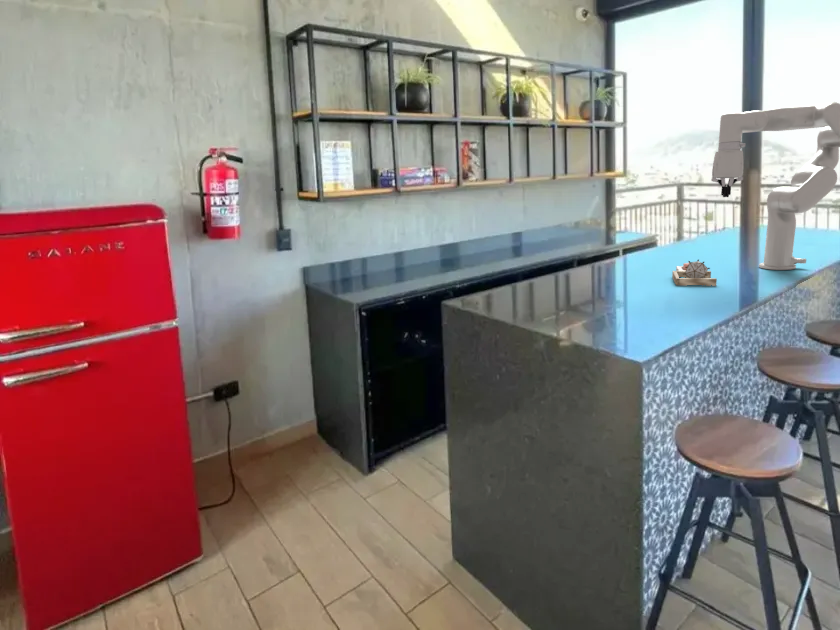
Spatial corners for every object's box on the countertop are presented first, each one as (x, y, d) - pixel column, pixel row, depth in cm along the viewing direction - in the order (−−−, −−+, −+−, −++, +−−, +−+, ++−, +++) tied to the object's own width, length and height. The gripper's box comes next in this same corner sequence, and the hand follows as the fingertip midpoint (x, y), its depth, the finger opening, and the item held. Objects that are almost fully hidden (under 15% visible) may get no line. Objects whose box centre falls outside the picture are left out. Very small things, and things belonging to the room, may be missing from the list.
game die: (700, 292, 214) (717, 273, 207) (679, 284, 214) (694, 265, 206) (697, 276, 220) (713, 257, 213) (676, 269, 220) (691, 250, 213)
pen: (710, 277, 220) (710, 271, 219) (716, 285, 206) (716, 279, 205) (672, 277, 224) (672, 270, 224) (675, 285, 210) (676, 278, 209)
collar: (703, 272, 230) (704, 266, 229) (707, 277, 221) (707, 270, 220) (676, 272, 233) (676, 266, 232) (678, 277, 224) (678, 270, 223)
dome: (698, 270, 228) (699, 262, 227) (700, 273, 223) (701, 265, 222) (682, 270, 230) (682, 262, 229) (683, 273, 225) (684, 265, 224)
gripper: (750, 146, 219) (745, 195, 223) (706, 148, 224) (702, 197, 228) (754, 145, 212) (749, 197, 217) (708, 148, 217) (705, 198, 221)
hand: (725, 196), depth 222 cm, fingers closed
